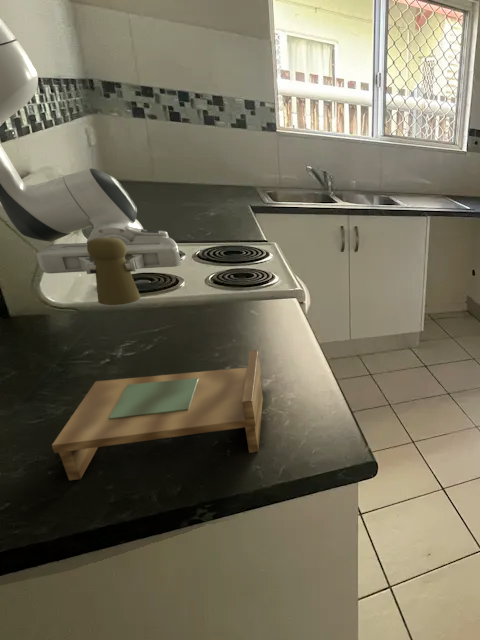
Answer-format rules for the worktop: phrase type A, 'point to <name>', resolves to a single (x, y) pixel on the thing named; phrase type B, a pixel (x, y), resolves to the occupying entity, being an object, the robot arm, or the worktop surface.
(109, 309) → the worktop surface
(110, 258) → the cork
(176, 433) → the shelf
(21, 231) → the robot arm
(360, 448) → the worktop surface
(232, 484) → the worktop surface
